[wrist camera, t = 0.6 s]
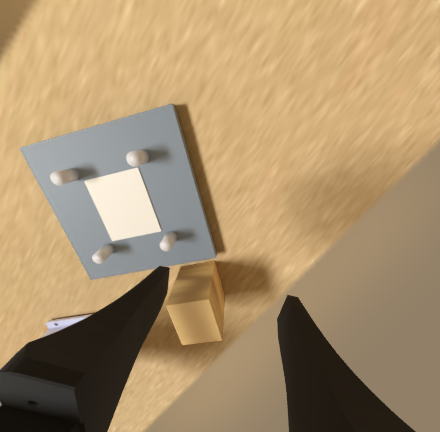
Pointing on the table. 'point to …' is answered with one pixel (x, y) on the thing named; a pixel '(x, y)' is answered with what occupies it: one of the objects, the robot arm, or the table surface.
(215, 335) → the ochre block
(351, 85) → the table surface
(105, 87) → the table surface
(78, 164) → the pin board
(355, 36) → the table surface
